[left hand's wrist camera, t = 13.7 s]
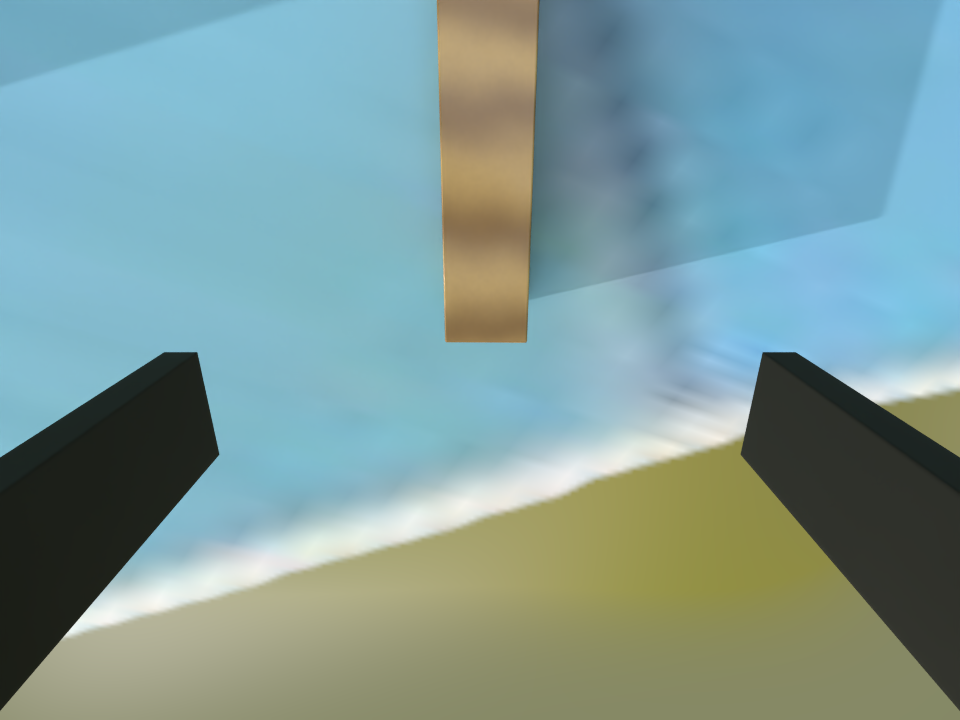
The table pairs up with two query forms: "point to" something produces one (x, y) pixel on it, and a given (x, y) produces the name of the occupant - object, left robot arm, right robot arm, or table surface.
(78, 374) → the table surface
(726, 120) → the table surface
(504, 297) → the bar
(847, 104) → the table surface
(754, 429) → the left robot arm
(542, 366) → the table surface
